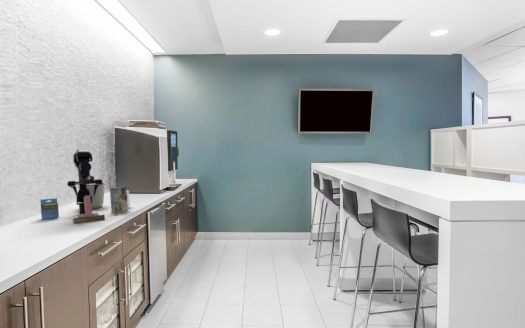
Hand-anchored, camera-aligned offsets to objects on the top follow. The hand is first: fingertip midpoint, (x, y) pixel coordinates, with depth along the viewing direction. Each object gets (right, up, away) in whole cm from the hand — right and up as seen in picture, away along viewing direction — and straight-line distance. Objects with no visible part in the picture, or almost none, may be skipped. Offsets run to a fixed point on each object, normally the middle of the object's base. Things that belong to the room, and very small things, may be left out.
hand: (85, 196), depth 206 cm
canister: (-14, -12, +36) cm, 40 cm away
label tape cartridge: (-23, -14, +1) cm, 27 cm away
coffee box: (+13, -12, +17) cm, 25 cm away
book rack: (+6, -13, -8) cm, 16 cm away
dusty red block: (+6, -11, -9) cm, 16 cm away
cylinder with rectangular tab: (+9, -11, +33) cm, 36 cm away
